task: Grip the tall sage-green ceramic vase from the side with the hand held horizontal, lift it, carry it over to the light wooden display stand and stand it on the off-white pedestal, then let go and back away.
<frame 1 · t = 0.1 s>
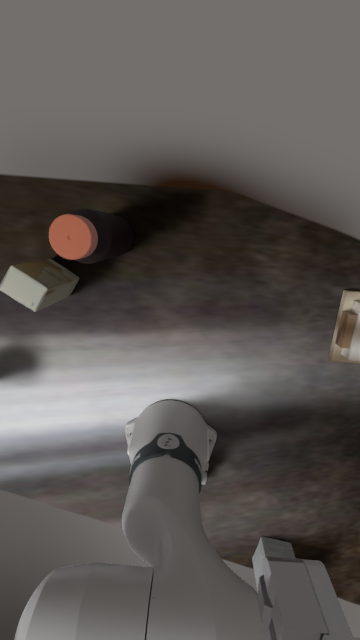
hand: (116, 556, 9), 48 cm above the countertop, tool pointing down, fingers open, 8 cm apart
supplement box: (270, 549, 71), on the countertop
skincare box: (60, 277, 56), on the countertop
bottle: (115, 235, 53), on the countertop
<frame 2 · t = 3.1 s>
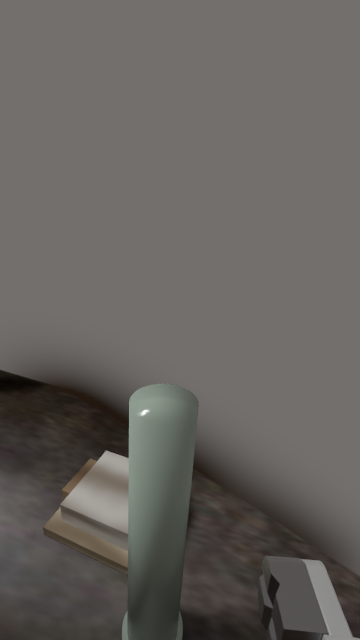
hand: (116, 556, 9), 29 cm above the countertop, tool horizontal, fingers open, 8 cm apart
sage vase: (152, 633, 30), on the countertop
display stand: (117, 509, 42), on the countertop
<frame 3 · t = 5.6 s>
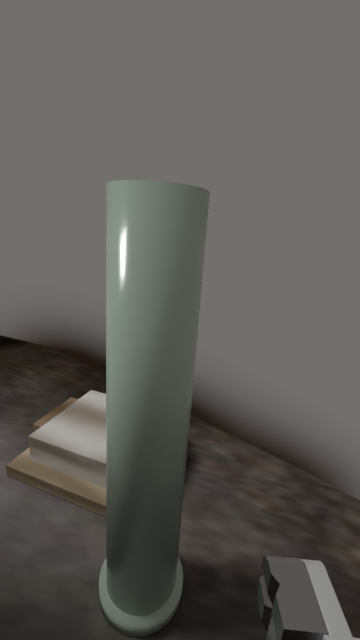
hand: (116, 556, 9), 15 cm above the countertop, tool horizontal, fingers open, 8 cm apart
sage vase: (141, 584, 22), on the countertop
display stand: (102, 453, 34), on the countertop
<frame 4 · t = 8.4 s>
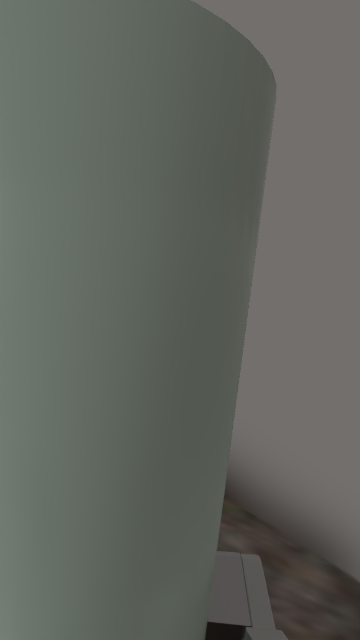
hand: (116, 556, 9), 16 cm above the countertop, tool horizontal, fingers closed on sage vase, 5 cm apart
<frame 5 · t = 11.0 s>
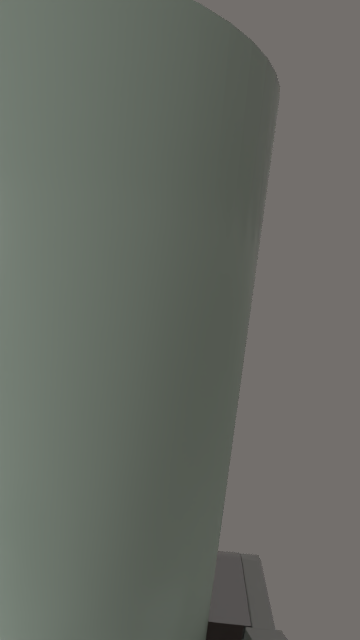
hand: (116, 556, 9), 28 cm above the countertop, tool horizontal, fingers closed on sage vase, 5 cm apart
when the fingers open (20 cm above the countertop, at t = 13.6 s): sage vase stays where it is, resting on display stand.
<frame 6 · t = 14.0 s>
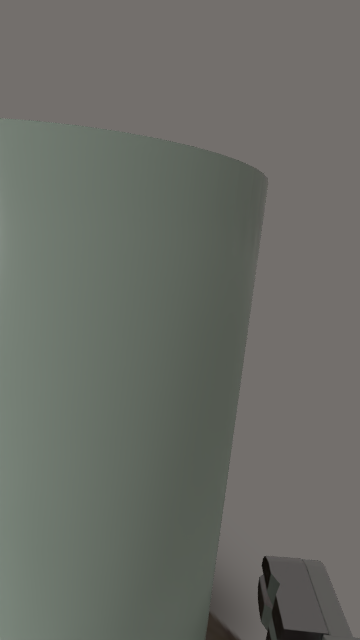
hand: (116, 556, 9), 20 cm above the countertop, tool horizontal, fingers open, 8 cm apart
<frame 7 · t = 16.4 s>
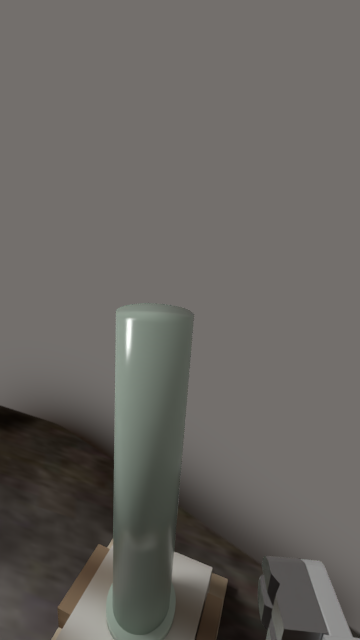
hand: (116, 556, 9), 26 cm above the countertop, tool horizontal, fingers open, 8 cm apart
sage vase: (141, 607, 26), point 4 cm above the countertop, touching display stand
display stand: (141, 631, 28), on the countertop
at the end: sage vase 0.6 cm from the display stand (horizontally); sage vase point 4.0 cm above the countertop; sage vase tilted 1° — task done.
